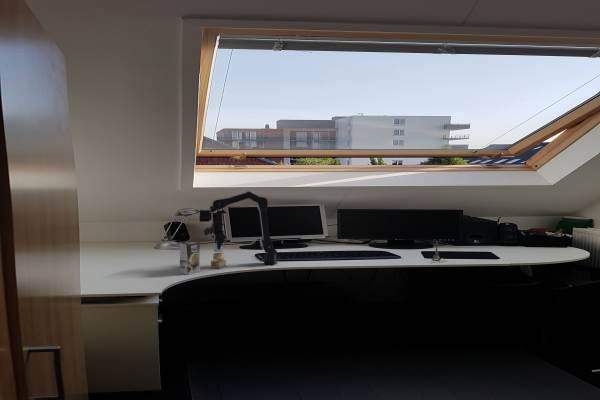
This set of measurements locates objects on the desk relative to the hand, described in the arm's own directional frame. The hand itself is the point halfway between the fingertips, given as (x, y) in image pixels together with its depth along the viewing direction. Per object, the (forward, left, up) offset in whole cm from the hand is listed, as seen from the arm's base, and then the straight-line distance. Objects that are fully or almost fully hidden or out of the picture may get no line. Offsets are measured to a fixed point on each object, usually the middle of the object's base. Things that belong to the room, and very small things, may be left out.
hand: (217, 248), depth 247 cm
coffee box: (+7, +16, -11) cm, 21 cm away
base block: (0, 0, -11) cm, 11 cm away
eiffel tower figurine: (-111, -72, -11) cm, 133 cm away
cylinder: (0, 0, -1) cm, 1 cm away
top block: (0, 0, -7) cm, 7 cm away
